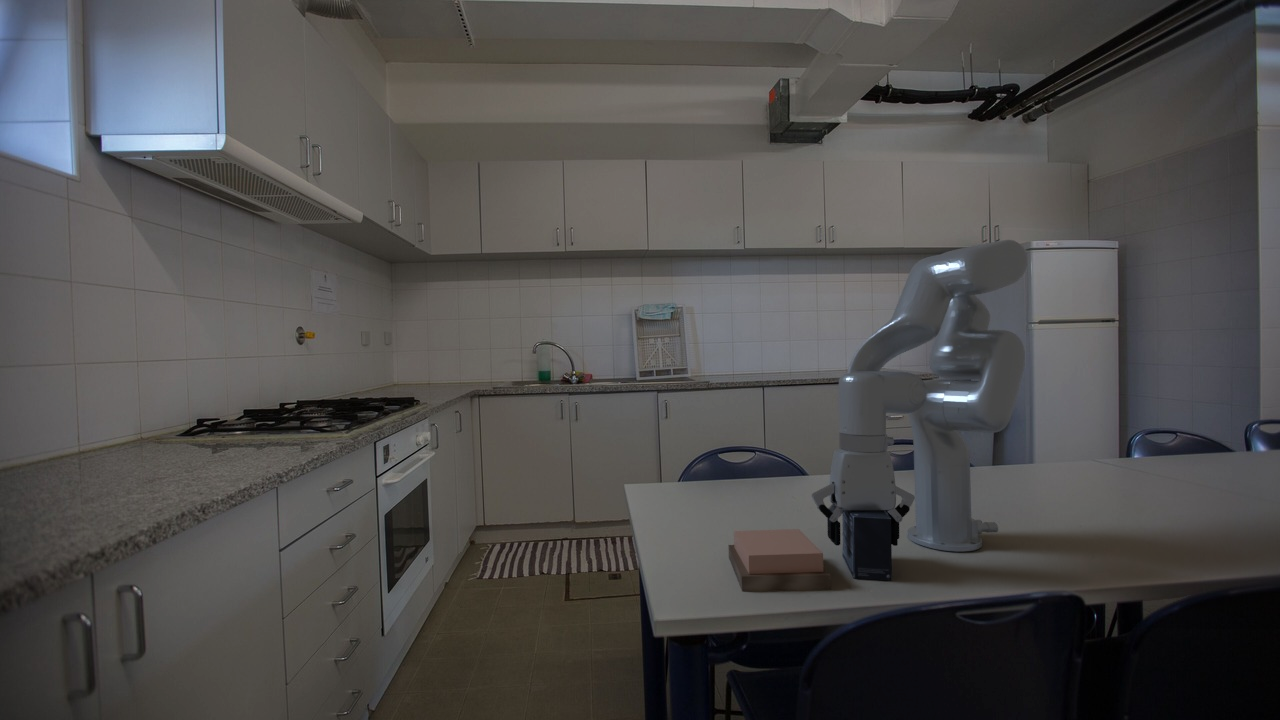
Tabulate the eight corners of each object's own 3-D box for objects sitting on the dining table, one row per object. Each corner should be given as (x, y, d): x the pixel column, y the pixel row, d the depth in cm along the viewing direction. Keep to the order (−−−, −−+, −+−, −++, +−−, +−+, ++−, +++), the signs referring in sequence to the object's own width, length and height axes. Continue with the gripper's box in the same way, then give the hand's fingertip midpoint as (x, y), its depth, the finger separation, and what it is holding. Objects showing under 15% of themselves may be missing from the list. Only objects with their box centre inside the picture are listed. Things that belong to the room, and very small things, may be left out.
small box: (895, 582, 84) (893, 517, 84) (853, 579, 86) (851, 516, 86) (879, 557, 95) (877, 500, 95) (841, 555, 96) (839, 499, 96)
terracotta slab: (799, 545, 96) (798, 529, 96) (823, 571, 84) (822, 553, 84) (734, 547, 95) (733, 531, 95) (749, 574, 83) (748, 555, 83)
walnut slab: (804, 559, 96) (804, 543, 96) (830, 593, 82) (830, 574, 82) (728, 561, 97) (728, 544, 97) (742, 595, 83) (741, 576, 83)
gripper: (902, 440, 94) (902, 536, 93) (805, 440, 94) (806, 535, 94) (924, 447, 86) (925, 550, 86) (819, 447, 87) (820, 550, 86)
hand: (863, 542), depth 90 cm, fingers open, 9 cm apart
